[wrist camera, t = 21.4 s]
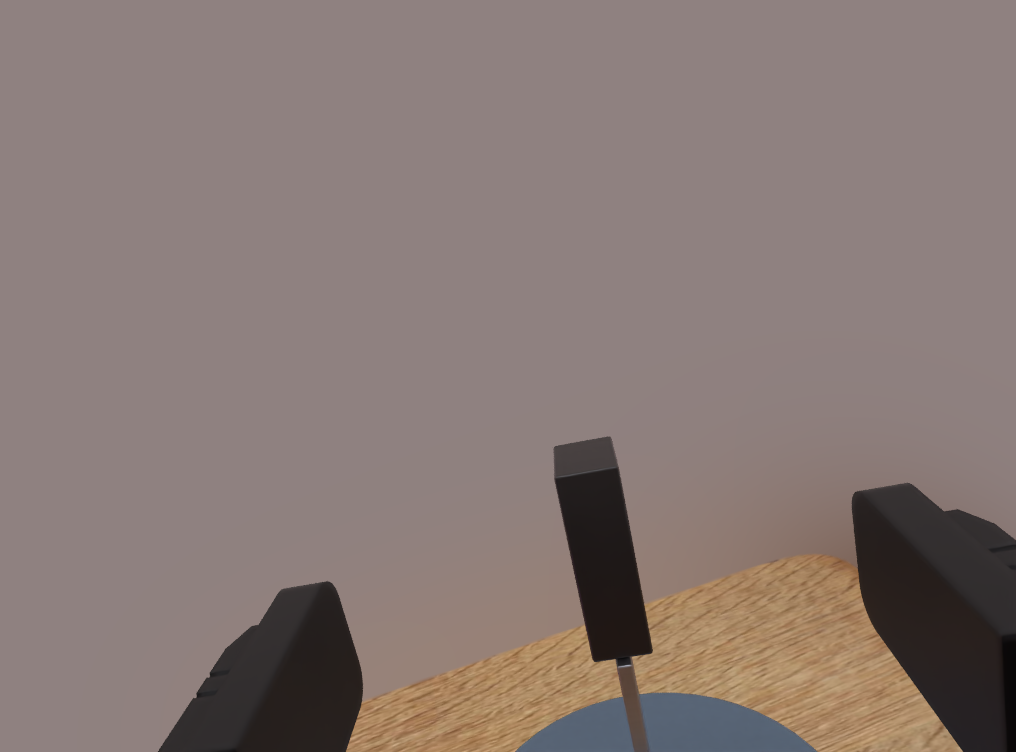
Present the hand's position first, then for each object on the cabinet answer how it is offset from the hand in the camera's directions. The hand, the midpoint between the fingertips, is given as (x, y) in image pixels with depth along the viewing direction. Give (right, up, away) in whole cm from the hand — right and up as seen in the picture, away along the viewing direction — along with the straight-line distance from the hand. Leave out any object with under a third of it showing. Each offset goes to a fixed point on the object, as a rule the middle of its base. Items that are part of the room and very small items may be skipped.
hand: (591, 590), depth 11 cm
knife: (+3, -10, +11) cm, 16 cm away
